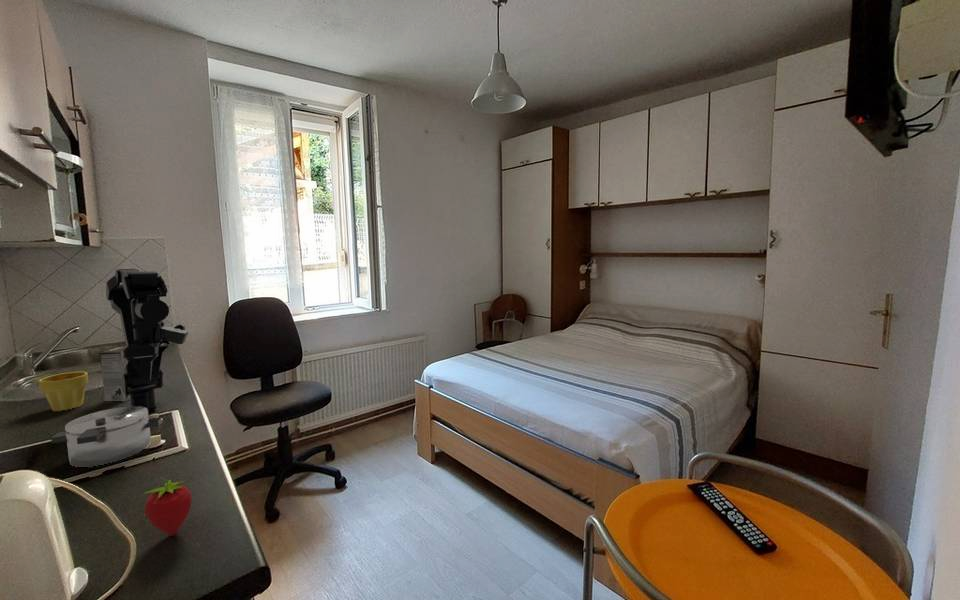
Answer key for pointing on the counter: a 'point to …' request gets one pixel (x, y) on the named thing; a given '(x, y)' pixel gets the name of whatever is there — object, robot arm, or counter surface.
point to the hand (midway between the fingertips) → (152, 376)
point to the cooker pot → (109, 444)
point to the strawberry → (168, 507)
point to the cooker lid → (104, 422)
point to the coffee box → (113, 373)
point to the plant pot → (64, 390)
